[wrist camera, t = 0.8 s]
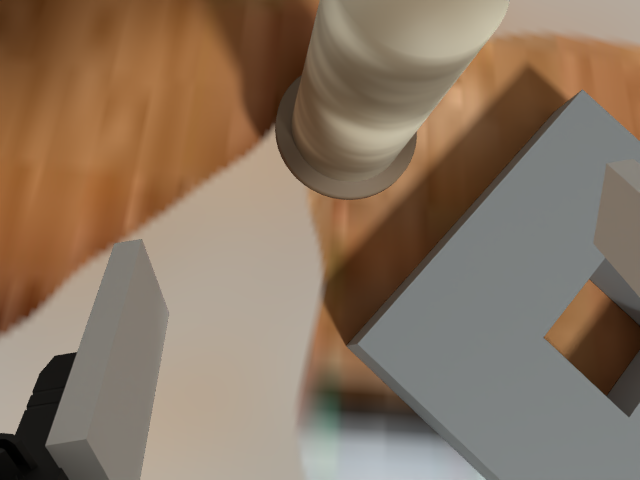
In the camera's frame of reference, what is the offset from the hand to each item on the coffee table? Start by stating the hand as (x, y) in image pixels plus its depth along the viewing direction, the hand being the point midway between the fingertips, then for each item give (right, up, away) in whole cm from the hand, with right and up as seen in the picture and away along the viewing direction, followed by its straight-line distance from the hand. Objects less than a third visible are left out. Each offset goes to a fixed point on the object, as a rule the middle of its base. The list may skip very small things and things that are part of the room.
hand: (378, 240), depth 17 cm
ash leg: (-1, +5, +17) cm, 18 cm away
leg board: (+14, -6, +17) cm, 23 cm away
